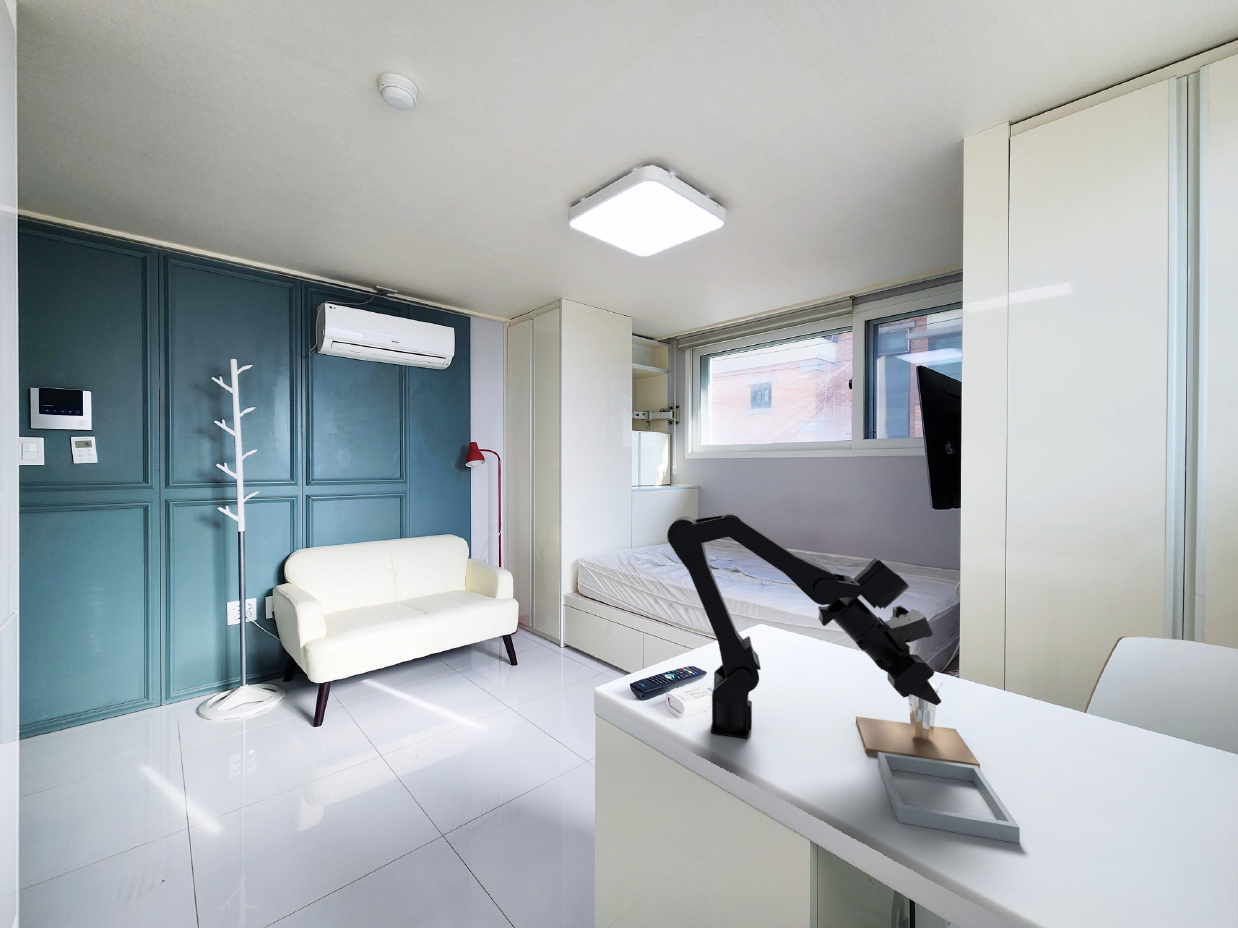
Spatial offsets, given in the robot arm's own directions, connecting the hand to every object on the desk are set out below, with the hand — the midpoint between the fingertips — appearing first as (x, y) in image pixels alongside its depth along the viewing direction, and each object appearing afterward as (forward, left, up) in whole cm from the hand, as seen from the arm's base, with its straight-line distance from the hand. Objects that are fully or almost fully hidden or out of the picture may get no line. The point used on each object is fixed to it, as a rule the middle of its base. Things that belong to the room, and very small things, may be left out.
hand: (933, 696), depth 86 cm
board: (-3, 0, -8) cm, 9 cm away
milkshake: (-1, 0, -7) cm, 7 cm away
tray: (-3, -15, -8) cm, 18 cm away
